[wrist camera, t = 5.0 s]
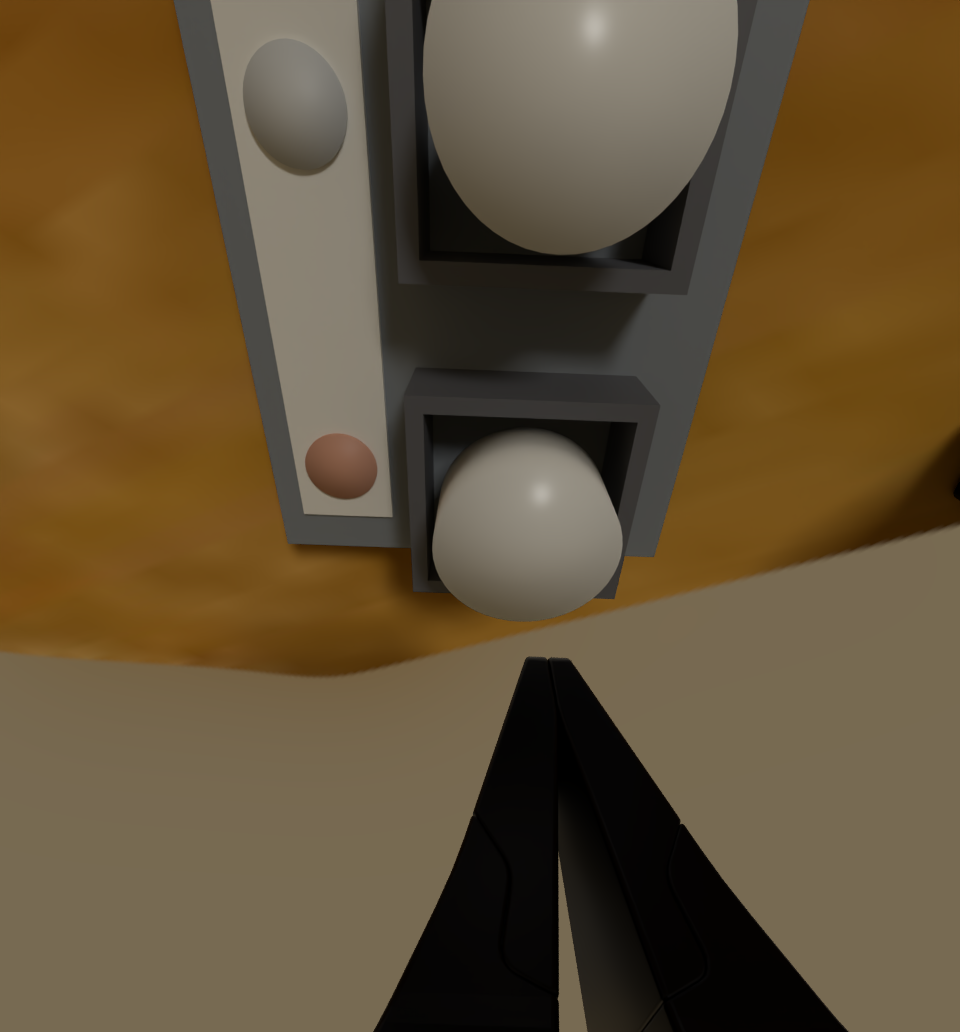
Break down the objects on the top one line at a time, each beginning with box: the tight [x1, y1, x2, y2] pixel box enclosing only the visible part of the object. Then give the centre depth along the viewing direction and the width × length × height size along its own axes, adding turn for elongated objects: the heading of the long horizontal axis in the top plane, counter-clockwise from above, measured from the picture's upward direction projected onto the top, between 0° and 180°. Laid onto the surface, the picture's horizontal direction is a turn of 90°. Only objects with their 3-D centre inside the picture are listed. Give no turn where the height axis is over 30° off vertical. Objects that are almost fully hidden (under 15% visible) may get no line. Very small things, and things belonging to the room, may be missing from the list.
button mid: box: [423, 0, 738, 255], centre depth 9 cm, size 5×5×2 cm
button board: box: [174, 0, 809, 599], centre depth 12 cm, size 14×26×5 cm, turn 178°
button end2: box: [432, 427, 623, 621], centre depth 14 cm, size 5×5×2 cm
